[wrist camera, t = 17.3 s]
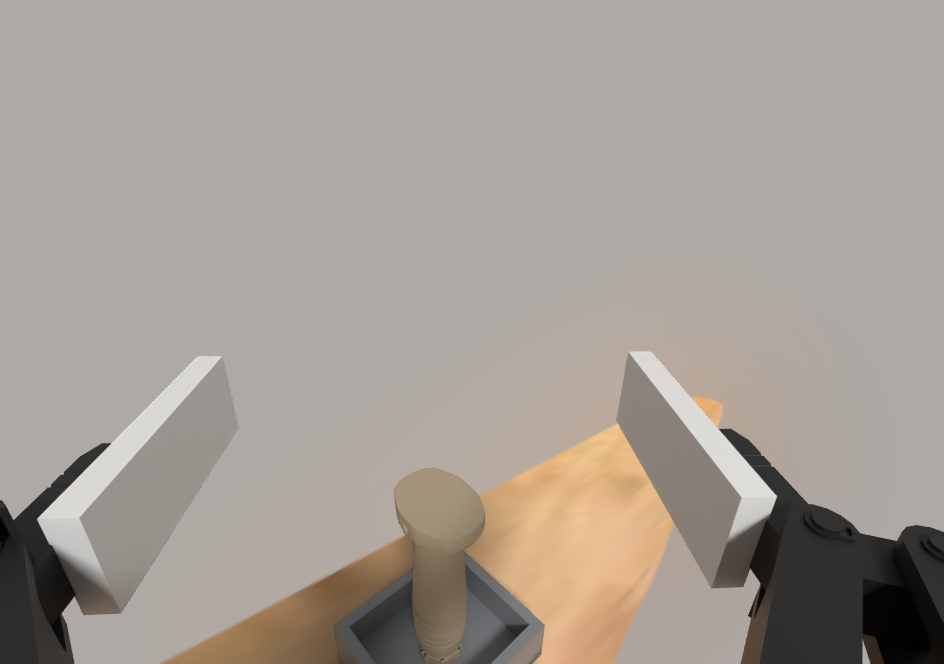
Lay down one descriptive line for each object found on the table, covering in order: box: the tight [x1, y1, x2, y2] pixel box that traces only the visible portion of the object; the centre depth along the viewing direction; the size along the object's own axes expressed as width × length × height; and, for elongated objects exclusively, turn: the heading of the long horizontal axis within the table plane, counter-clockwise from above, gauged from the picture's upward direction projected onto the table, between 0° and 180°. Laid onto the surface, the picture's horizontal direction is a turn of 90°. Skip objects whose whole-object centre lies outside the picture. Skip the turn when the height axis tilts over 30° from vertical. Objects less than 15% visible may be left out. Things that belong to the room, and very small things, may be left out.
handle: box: [394, 468, 485, 664], centre depth 34 cm, size 5×6×15 cm
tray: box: [334, 552, 545, 664], centre depth 36 cm, size 12×11×4 cm
